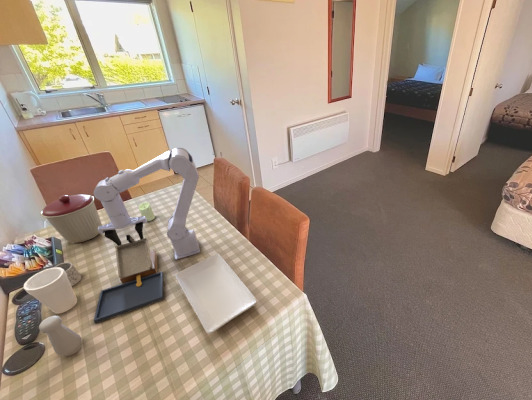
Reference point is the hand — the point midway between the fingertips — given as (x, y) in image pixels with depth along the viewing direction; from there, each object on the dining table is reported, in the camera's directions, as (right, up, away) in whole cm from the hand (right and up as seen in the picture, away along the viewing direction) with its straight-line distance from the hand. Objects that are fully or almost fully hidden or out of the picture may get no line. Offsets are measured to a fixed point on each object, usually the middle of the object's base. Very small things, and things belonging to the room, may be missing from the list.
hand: (131, 242), depth 101 cm
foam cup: (-14, -20, -12) cm, 27 cm away
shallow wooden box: (+2, -11, +2) cm, 11 cm away
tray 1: (+7, -17, -9) cm, 21 cm away
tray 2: (+35, -17, -8) cm, 40 cm away
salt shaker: (0, -27, -25) cm, 37 cm away
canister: (-36, 0, +21) cm, 42 cm away
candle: (-14, +10, +30) cm, 34 cm away
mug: (-22, -15, -4) cm, 27 cm away
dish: (+2, -5, -1) cm, 6 cm away
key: (+6, -13, -5) cm, 15 cm away
